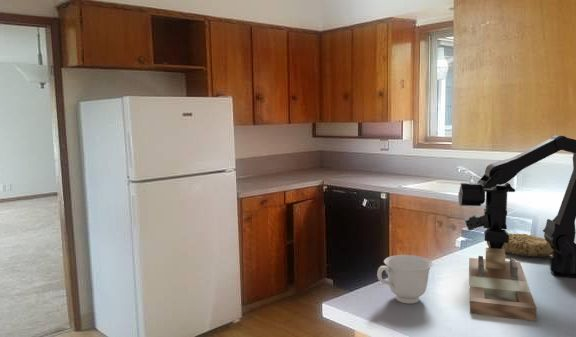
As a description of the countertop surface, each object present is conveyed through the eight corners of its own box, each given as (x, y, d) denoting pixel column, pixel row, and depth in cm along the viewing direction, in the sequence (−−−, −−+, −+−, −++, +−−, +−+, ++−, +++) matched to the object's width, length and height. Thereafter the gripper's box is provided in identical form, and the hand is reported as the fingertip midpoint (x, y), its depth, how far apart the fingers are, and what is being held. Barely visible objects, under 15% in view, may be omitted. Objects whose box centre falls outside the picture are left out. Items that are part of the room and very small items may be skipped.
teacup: (365, 296, 123) (365, 259, 122) (412, 287, 128) (412, 252, 127) (391, 314, 112) (392, 273, 111) (442, 303, 117) (443, 265, 116)
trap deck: (519, 271, 139) (520, 250, 139) (536, 321, 107) (537, 293, 106) (469, 267, 144) (469, 246, 144) (470, 312, 112) (470, 286, 111)
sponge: (484, 255, 160) (544, 257, 144) (483, 232, 161) (542, 231, 145) (505, 255, 168) (564, 256, 152) (504, 233, 169) (562, 232, 153)
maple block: (503, 264, 137) (504, 249, 137) (504, 269, 133) (505, 254, 132) (485, 262, 139) (485, 247, 139) (485, 267, 135) (486, 252, 134)
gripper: (467, 199, 150) (465, 246, 152) (466, 211, 132) (465, 264, 134) (505, 201, 146) (503, 249, 148) (510, 213, 128) (507, 268, 130)
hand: (494, 257), depth 140 cm, fingers closed
